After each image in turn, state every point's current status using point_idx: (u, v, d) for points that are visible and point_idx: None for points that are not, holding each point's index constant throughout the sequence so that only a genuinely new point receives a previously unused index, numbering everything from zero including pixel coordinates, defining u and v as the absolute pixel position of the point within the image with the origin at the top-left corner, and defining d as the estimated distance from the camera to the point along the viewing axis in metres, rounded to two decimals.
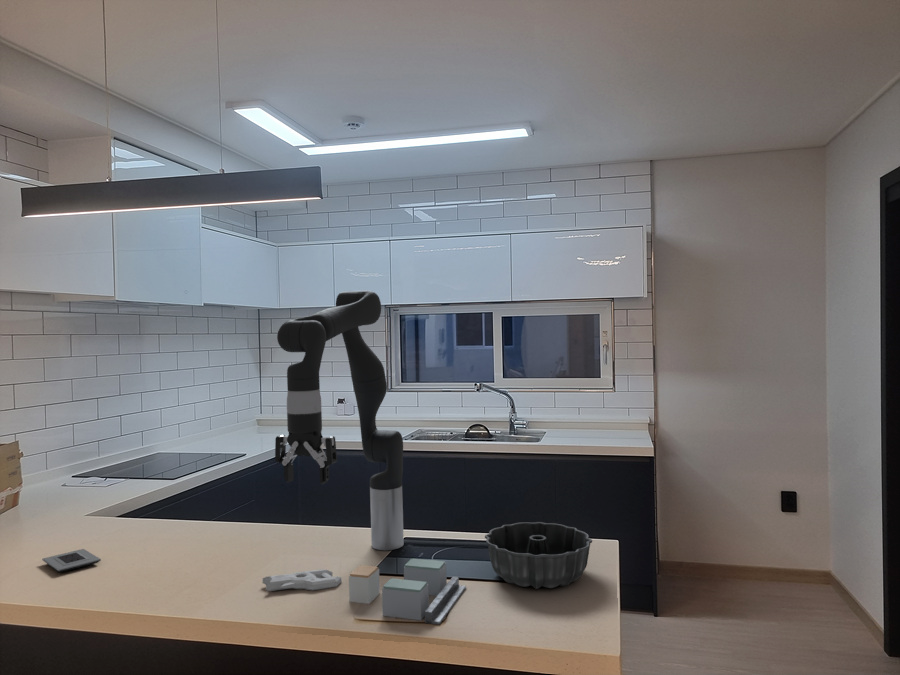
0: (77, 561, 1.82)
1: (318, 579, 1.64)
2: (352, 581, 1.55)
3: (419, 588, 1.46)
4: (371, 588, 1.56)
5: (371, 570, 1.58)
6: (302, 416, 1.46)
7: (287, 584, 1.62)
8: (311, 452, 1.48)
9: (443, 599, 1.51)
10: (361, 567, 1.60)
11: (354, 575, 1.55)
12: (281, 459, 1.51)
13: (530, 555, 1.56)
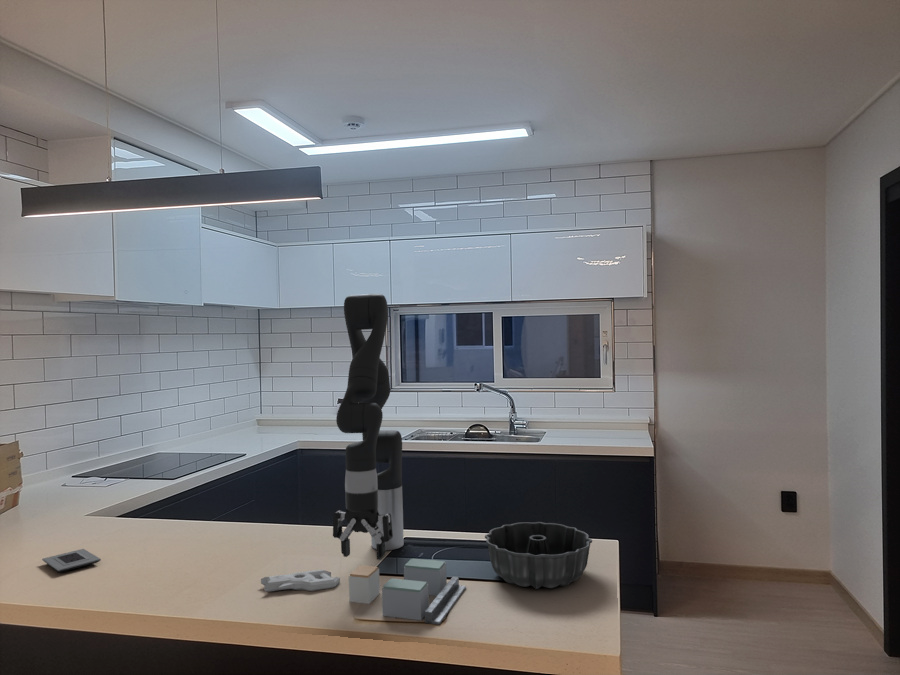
0: (77, 561, 1.82)
1: (316, 580, 1.64)
2: (352, 581, 1.55)
3: (419, 588, 1.46)
4: (371, 588, 1.56)
5: (371, 570, 1.58)
6: (361, 495, 1.53)
7: (285, 585, 1.62)
8: (368, 529, 1.55)
9: (443, 599, 1.51)
10: (361, 567, 1.60)
11: (354, 575, 1.55)
12: (339, 534, 1.58)
13: (530, 555, 1.56)
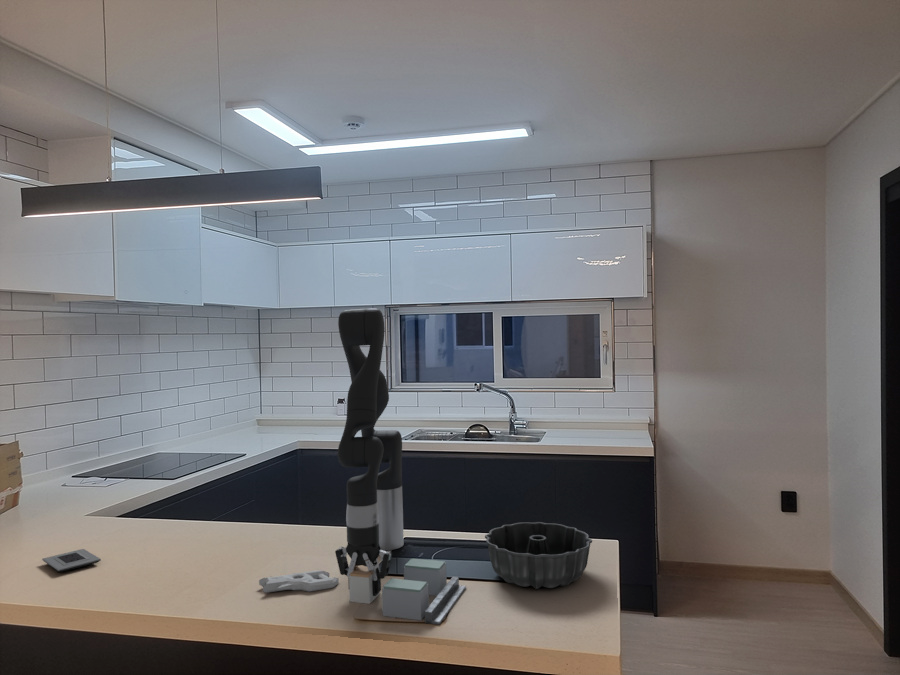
0: (77, 561, 1.82)
1: (315, 580, 1.64)
2: (352, 581, 1.55)
3: (419, 588, 1.46)
4: (371, 588, 1.56)
5: None
6: (362, 530, 1.54)
7: (284, 585, 1.62)
8: (370, 563, 1.55)
9: (443, 599, 1.51)
10: (361, 567, 1.60)
11: (354, 575, 1.55)
12: (346, 571, 1.58)
13: (530, 555, 1.56)
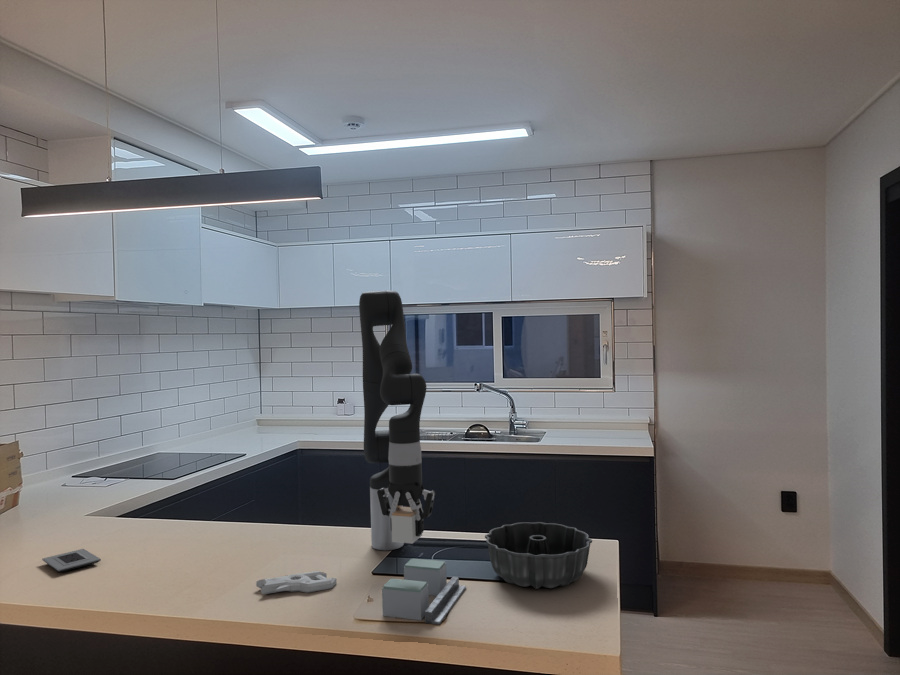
0: (77, 561, 1.82)
1: (313, 581, 1.63)
2: (394, 520, 1.52)
3: (419, 588, 1.46)
4: (414, 528, 1.52)
5: None
6: (405, 468, 1.51)
7: (282, 587, 1.61)
8: (413, 502, 1.52)
9: (443, 599, 1.51)
10: (403, 508, 1.56)
11: (397, 514, 1.52)
12: (388, 512, 1.55)
13: (530, 555, 1.56)
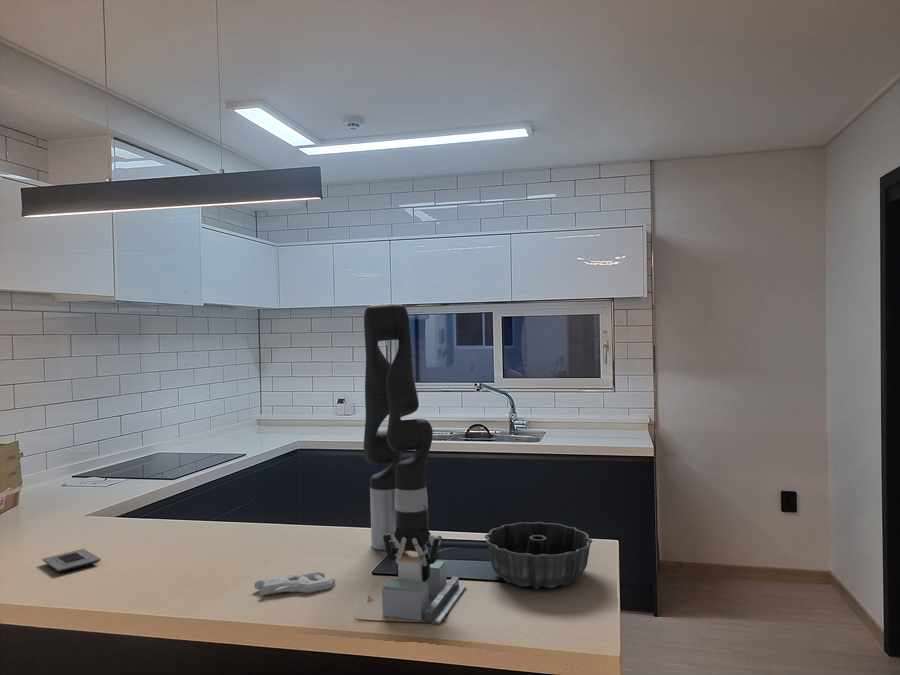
0: (77, 561, 1.82)
1: (312, 581, 1.63)
2: (401, 566, 1.52)
3: (419, 588, 1.46)
4: (421, 573, 1.53)
5: None
6: (412, 514, 1.51)
7: (281, 588, 1.60)
8: (419, 548, 1.52)
9: (443, 599, 1.51)
10: (409, 552, 1.57)
11: (404, 560, 1.52)
12: (394, 557, 1.55)
13: (530, 555, 1.56)
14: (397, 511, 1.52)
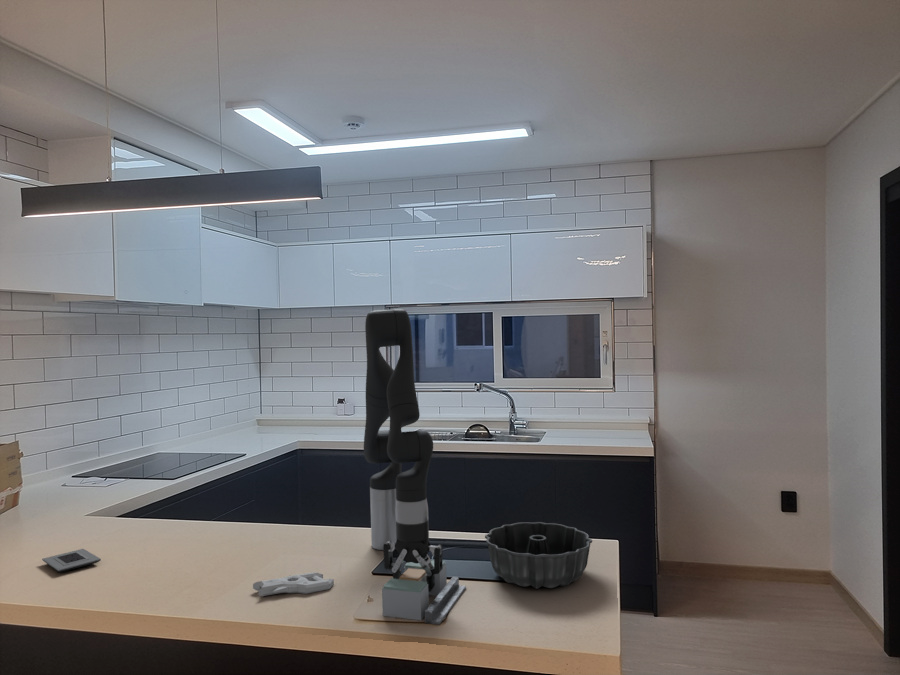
0: (77, 561, 1.82)
1: (311, 582, 1.63)
2: None
3: (419, 588, 1.46)
4: None
5: (420, 573, 1.55)
6: (412, 526, 1.51)
7: (280, 588, 1.60)
8: (420, 560, 1.53)
9: (443, 599, 1.51)
10: (410, 570, 1.57)
11: (404, 578, 1.53)
12: (390, 566, 1.56)
13: (530, 555, 1.56)
14: (397, 523, 1.53)
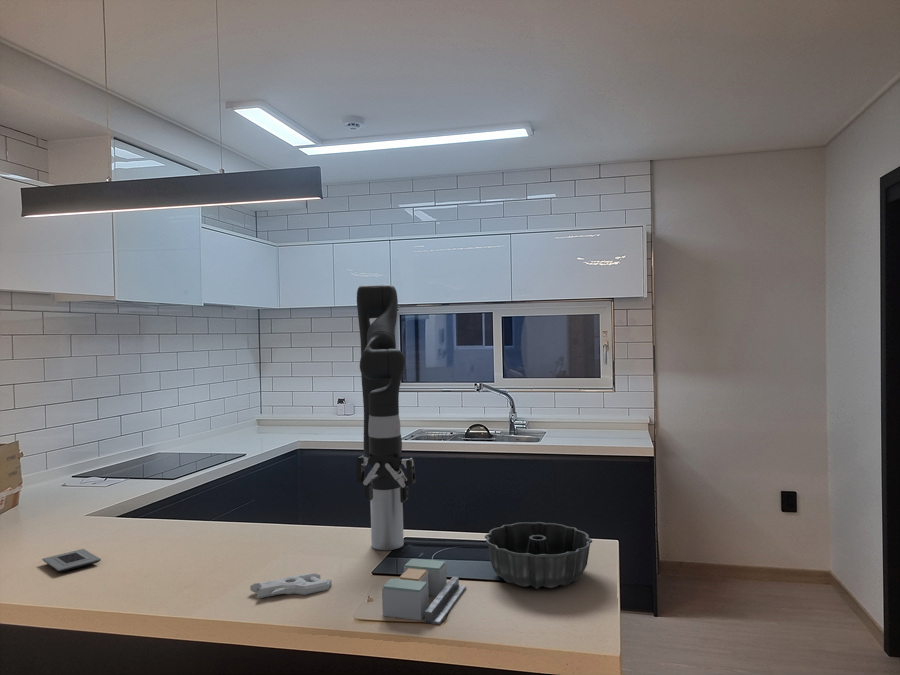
0: (77, 561, 1.82)
1: (309, 583, 1.62)
2: None
3: (419, 588, 1.46)
4: None
5: (420, 573, 1.55)
6: (385, 440, 1.55)
7: (278, 590, 1.59)
8: (392, 473, 1.57)
9: (443, 599, 1.51)
10: (410, 570, 1.57)
11: (404, 578, 1.53)
12: (362, 479, 1.61)
13: (530, 555, 1.56)
14: (370, 437, 1.57)
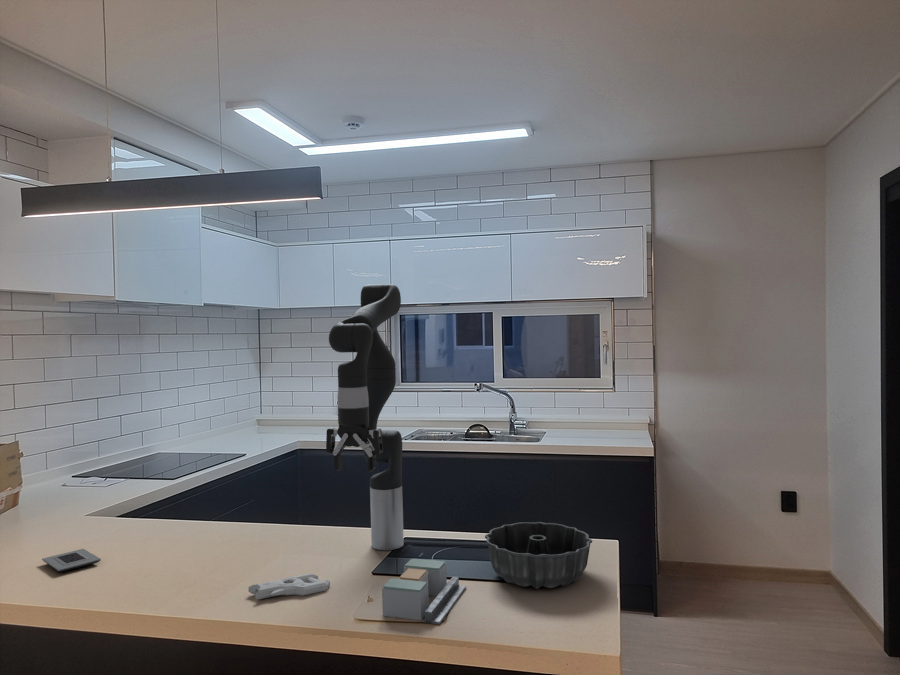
0: (77, 561, 1.82)
1: (308, 584, 1.62)
2: None
3: (419, 588, 1.46)
4: None
5: (420, 573, 1.55)
6: (352, 410, 1.61)
7: (277, 591, 1.58)
8: (360, 443, 1.63)
9: (443, 599, 1.51)
10: (410, 570, 1.57)
11: (404, 578, 1.53)
12: (332, 449, 1.66)
13: (530, 555, 1.56)
14: (339, 408, 1.63)
